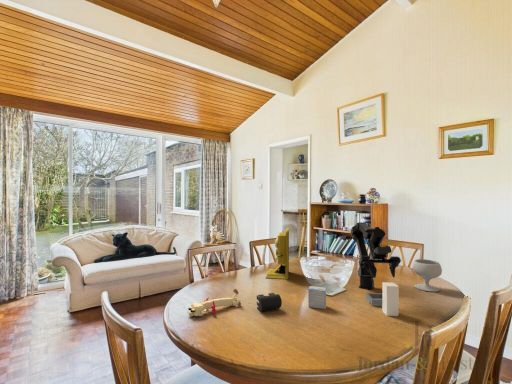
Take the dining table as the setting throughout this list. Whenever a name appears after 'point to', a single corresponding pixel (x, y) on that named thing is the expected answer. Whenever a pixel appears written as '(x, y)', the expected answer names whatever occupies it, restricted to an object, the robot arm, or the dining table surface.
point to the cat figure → (213, 304)
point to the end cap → (269, 302)
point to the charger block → (390, 299)
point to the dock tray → (374, 299)
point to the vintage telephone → (281, 257)
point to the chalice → (427, 273)
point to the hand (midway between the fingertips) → (384, 277)
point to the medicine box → (317, 297)
